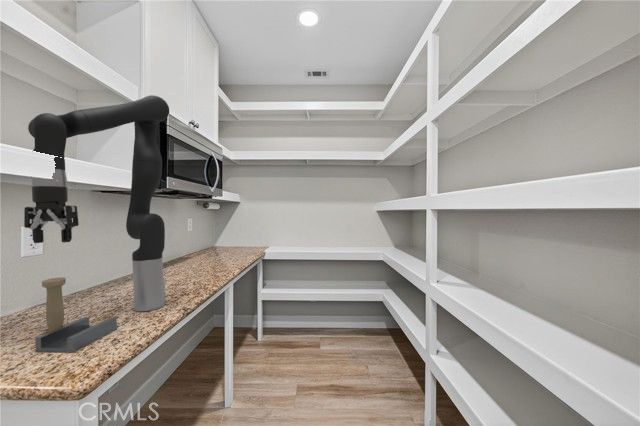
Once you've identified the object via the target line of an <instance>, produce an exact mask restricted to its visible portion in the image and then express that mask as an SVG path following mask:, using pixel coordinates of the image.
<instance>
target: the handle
mask: <svg viewBox="0 0 640 426" xmlns="http://www.w3.org/2000/svg"><path fill="white" fill-rule="evenodd" d="M66 282H67V281H66V277H64V276H63V277H62V276H61V277H53V278H48V279H47V278H46V279H45V280H42V282H41V286H42V287H43V288H45V289H46V300H45V301H46V305H45V307H46V308H45V313H46V314H45V315H46V316H45V318H46V324H47V333H48V332H50V331H53V330H55V329H57V328H60V327H62V326H64V324H65V307H64V306H65V305H64V300H63V298H64V297H63V288H62V287H63V286H64V285H65V284H66Z"/></svg>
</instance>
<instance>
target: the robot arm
mask: <svg viewBox="0 0 640 426" xmlns="http://www.w3.org/2000/svg"><path fill="white" fill-rule="evenodd" d="M169 114H170V106H169V105H168V102H167V101H166V100H165V99H164V98H162V97H160V96H158V95H153V94H152V95H147V96H144V97H142V98H139V99H136V100H134V101H130V102H126V103H120V104H113V105H107V106H106V105H105V106H99V107H91V108H83V109H75V110H72V111H70V112H68V113H65V114H58V115H56V114H53V113H49V112H45V113H43V112H42V113H40V114H38V115H36V116H34V118H32V119H31V120H30V122H28V128H27V129H28V130H27V131H28V133H29V134H30V136H31V137H32V138H34V148H33V150H32V152H33V151H36V152H40V153H45V154H49V155H54V156H58V157H55V158H54V161H55V163H56V164H55V166H56V167H55V173H53V176H52V178H53V179H40V178H32V177H31V196H32V198H31V199H32V202H33V203H35V206H25V207H24V214H23V215H24V217H23V218H24V219H23V222H24V225H23V226H24V228H25V229H30V230H31V231H32V241H33V244H42V243H44V241H45V240H44V239H45V238H44V229H43V228H44V226H45V225H46V224H48V223H49V222H55V224H57V225H58V226H59V227H60V228H61V230H60V234H61V235H60V236H61V237H60V238H61V242H62V243H71V241H72V240H73V235H72V234H73V233H72V231H73V230H72V229H73V228H75V227H78V226H79V225H80V224H79V223H80V222H79V214H78V206H77V205H66V203H67V202H68V201H69V200H68V199H69V198H68V195H69V194H68V177H67V172H66V160H65V159H66V158H65V151H66V144H67V139H69V138H73V137H75V136H81V135H87V134H92V133H93V134H94V133H98V132H103V131H107V130H110V129H114V128H117V127H120V126H123V125H128V124H131V123H134V125H133V126H134V141H133V154H132V168H131V183H130V184H131V187H130V198H129V199H130V200H129V206H128V211H127V217H126V223H125V228H126V233H127V235H128V236H129V237H130V238H132V239H134V240H139V247H138V248H137V249H136V250H134V251H133V252H132V253H131V254H132V255H131V256H132V257H131V260H132V261H131V262H132V282H133V283H132V284H133V288H132V289H133V310H134V311H136V312H149V311H154V310H157V309H160V308H162V307H163V306H165V303H166V290H165V287H166V286H165V277H164V268H163V267H164V265H163V253H164V250H165V244H166V242H165V240H166V239H165V238H166V235H165V234H166V230H165V221H164V219H163V218H162V217H161V216H160V215H159V214H158V213H153V212H152V213H150V212H151V202H152V198H153V197H154V195H155V193H156V191H157V189H158V187H159V185H160V182H161V179H162V171H163V157H162V155H161V152H160V149H159V146H158V143H157V142H158V140H157V133H158V126H159V124H160V123H162V122H163V121H165V120H166V119H167V118H168V116H169ZM60 157H62V158H60ZM64 158H65V159H64Z"/></svg>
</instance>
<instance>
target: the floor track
mask: <svg viewBox="0 0 640 426" xmlns="http://www.w3.org/2000/svg"><path fill="white" fill-rule="evenodd" d="M117 323H118V321H117V317H116V316H111V317H109V318H107V319H105V320H103V321H100V322H98V323H96V324H94V325H90V317H89V316H84V317H81V318H79V319H76V320H74V321H72V322H69V323H67V324H65V325H64V324H63V326H62V327H60V328H57V329H55V330H53V331H50V332H48V331H47V332H45V333H43V334H41V335H38V336H36V337H35V338H34V341H35V342H34V343H35V353H75V352H78V351H79V350H81V349H83V348H84V347H86V346H89V345H90V344H92V343H94V342H95V341H97V340H99V339H101V338H103V337H105V336H107V335H109V334H111V333H113V332H114V331H117V330H118V324H117Z"/></svg>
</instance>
